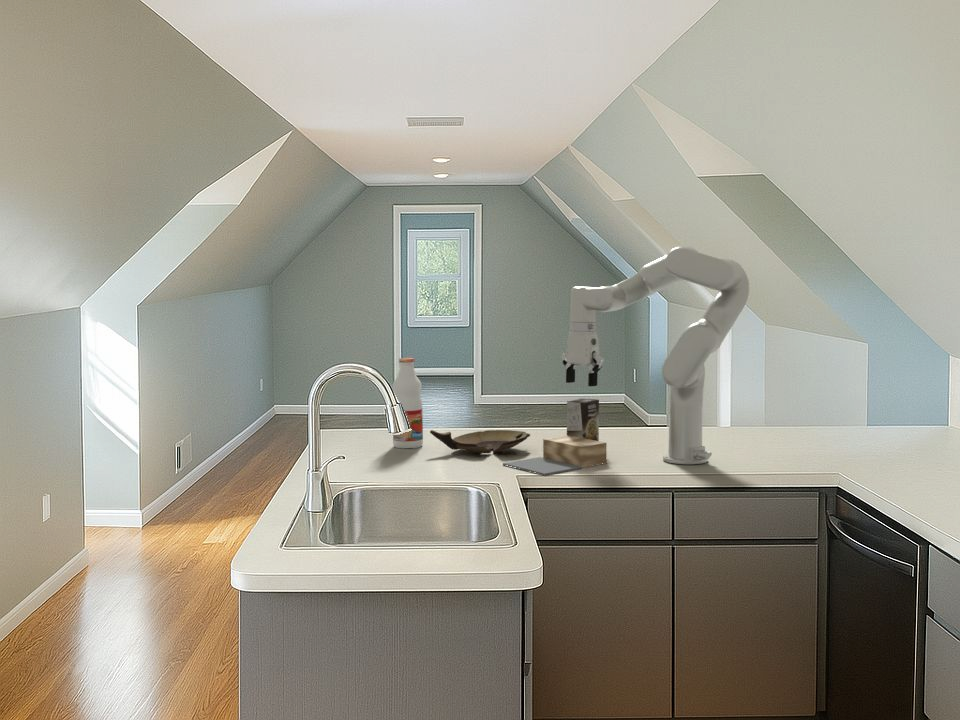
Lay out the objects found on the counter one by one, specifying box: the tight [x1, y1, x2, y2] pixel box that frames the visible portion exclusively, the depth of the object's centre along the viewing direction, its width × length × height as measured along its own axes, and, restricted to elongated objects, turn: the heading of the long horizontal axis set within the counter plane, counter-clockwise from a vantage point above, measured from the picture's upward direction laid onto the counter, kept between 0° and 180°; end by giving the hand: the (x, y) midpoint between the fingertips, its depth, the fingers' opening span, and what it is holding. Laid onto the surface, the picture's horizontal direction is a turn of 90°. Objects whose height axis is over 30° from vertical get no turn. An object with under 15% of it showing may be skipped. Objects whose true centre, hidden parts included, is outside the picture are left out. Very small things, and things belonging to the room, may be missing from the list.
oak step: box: [542, 434, 608, 469], centre depth 286 cm, size 16×10×6 cm, turn 38°
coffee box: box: [566, 398, 600, 441], centre depth 299 cm, size 9×6×16 cm
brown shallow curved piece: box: [429, 429, 531, 454], centre depth 303 cm, size 22×30×8 cm
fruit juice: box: [392, 357, 424, 449], centre depth 311 cm, size 9×9×28 cm
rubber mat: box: [502, 456, 583, 477], centre depth 279 cm, size 18×14×1 cm
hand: (581, 384), depth 298 cm, fingers open, 9 cm apart
